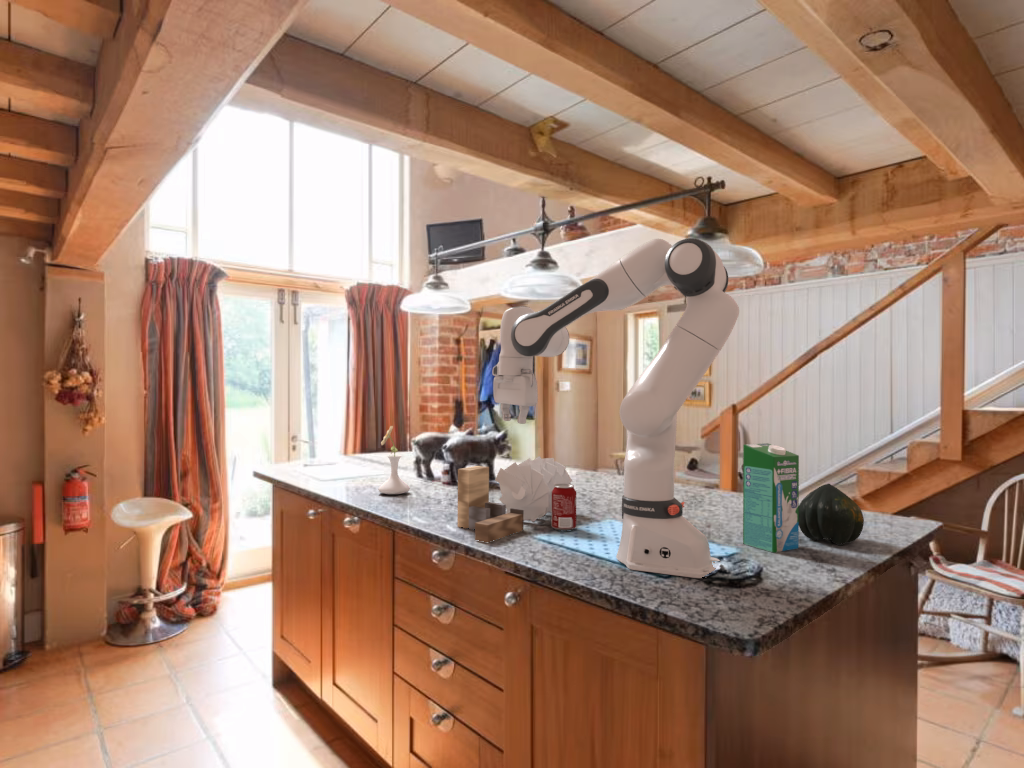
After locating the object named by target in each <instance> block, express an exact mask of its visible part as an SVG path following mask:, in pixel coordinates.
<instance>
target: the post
mask: <svg viewBox="0 0 1024 768" xmlns="http://www.w3.org/2000/svg"><path fill="white" fill-rule="evenodd" d="M489 497H490V466H484V465H483V466H482V465H476V466H474V465H473V466H469V467H463V468H458V469H457V524H456V525H457V528H461V527H463V528H462V529H466V528H469V530H472V529H475V523H477V522H480V521H483V520H487V519H490V518H493V517H497V516H500V515H504V514H506V511H507V508H506V504H502V503H501V502H500V503H499V502H492V501H490V498H489Z"/></svg>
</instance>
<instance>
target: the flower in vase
mask: <svg viewBox="0 0 1024 768" xmlns="http://www.w3.org/2000/svg"><path fill="white" fill-rule="evenodd" d="M393 428H394V426H393V425H390V426H389V429H387V431H386V434H385V435H384V436H383V440H381V442H380V444H381V446H384V445H385V444H386V442H387V441H388V439H390V440H391V443H392V446H391V448H390V450H391V452H390V455H387V458H388V459H389V462H390V466H391V467H390V468H391V469H390V470H391V471H390V476H389V477H388V478H387V479H386V480H385V481H384V482H383V483H382V484H381V485H379V486H378V488H377V489H378V492H379V493H381V494H384V495H393V496H394V495H402V494H405V493H406V494H407V493H408V492H409V491H411V487H410V486H409V484H408V483H406V482H405V481H404V480H403V479H402V478H401V477H400V476H399V473H398V466H399V461H400V459H401V458H402V454H400V455H399V454H396V453H397V452H398V451H399V450H398V448H396V446H395V443H394V440H393V438H392V437H391V433H392V431H393Z"/></svg>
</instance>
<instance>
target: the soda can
mask: <svg viewBox="0 0 1024 768" xmlns="http://www.w3.org/2000/svg"><path fill="white" fill-rule="evenodd" d="M551 528H553V529H554V530H556V531H558V530H560V531H559V532H568V531H567V530H571V531H573V530H574V529H576V528H577V491H576V489H575V485H574V484H555V485H554V489H553V490H552V513H551Z"/></svg>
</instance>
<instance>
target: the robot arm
mask: <svg viewBox="0 0 1024 768" xmlns="http://www.w3.org/2000/svg"><path fill="white" fill-rule="evenodd" d="M728 285H729V274H728V271H727V268H726V266H725V265H724V264H723V260H722V259H721V256H720V255H719V254H718V253H717V252H716V251H715V250H714V249H713V248H712V246H711V245H710V244H709V243H707V242H705V241H704V240H701V239H698V238H694V237H693V238H692V237H691V238H684V239H680V240H679V241H677V242H676V243H675V242H674V243H673V245H672V244H671V243H669V242H668V241H666V240H664V239H661V238H654V239H651V240H649V241H647V242H644V243H643V244H641V245H638V246H637V247H635V248H633V249H632V250H630V251H629V252H627V253H626V254H624V255H623V256H621V257H620V258H618V259H617V260H616V261H614V262H613V263H611V264H610V265H609V266H607V267H606V268H605V269H603V270H602V271H600V272H599V273H598V274H597V275H595V276H593V277H592V278H590V279H589V280H587V281H586V282H585V283H583V284H581V285H580V286H578V287H576V288H575V289H573V290H571V291H570V292H568V293H566V294H565V295H564V296H562V297H560V298H559V299H557V300H556V301H554V302H552V303H551V304H550V305H548V306H546V307H544V308H542V309H540V310H538V311H535V310H534V309H533V308H532V307H530V306H525V305H520V306H513V307H510V308H507V309H506V310H505V311H504V312H503V314H502V317H501V321H500V329H499V343H500V351H499V352H500V353H499V357H498V362H497V364H495V365H494V366H493V367H492V372H491V373H492V376H494V378H493V383H492V384H493V385H492V386H493V390H492V391H493V399H494V402H495V403H496V404H500V409H501V413H502V420H503V421H504V422H510V421H511V420H512V419H511V418H512V414H511V413H510V412H511V411H510V408H511V405H512V406H513V405H514V406H518V407H519V408H518V410H519V414H518V416H517V417H516V418H517V424H520V425H521V424H522V425H523V424H526V423H527V416H528V413H529V411H530V407H536V406H537V404H538V402H539V401H538V400H539V399H538V395H539V394H538V381H537V378H536V376H535V374H534V372H533V368H534V366H533V365H534V357H542V358H544V357H545V358H553V357H554V358H555V357H557V356H561V355H562V354H563V353H564V352H565V351H566V350H567V349H568V347H569V343H570V333H569V330H568V329H567V327H569V325H572V324H573V323H575V322H576V321H578V320H580V319H581V318H583V317H584V316H588V315H589V314H592V313H596V312H605V311H622V310H625V309H627V308H630V307H631V306H633V305H635V304H637V303H640V302H641V301H642V300H644V299H645V298H647V297H648V296H650V295H651V294H652V293H654V292H655V291H657V290H658V289H660V288H662V287H666V286H673V288H674V289H675V290H676V291H678V293H680V294H681V295H683V296H684V297H685V299H686V307H685V309H684V311H683V313H682V315H681V317H680V318H679V320H678V321H677V323H676V324H675V326H674V327H673V329H672V330H671V332H670V333H669V335H668V337H667V338H666V339H665V341H664V342H663V344H662V346H661V347H660V349H659V350H658V352H657V353H656V355H655V356H654V357H653V358H652V360H651V361H650V362H649V364H648V365H647V366H646V368H645V369H644V370H643V371H642V373H641V374H640V375H639V377H637V379H636V381H635V382H634V383H633V385H632V386H631V388H630V389H629V390H628V392H627V393H626V395H625V396H624V397H623V399H622V400H621V403H620V406H619V418H620V421H621V424H622V426H623V427H624V428H625V430H627V441H626V448H625V457H624V461H623V473H624V474H623V495H622V496H621V518H622V529H621V536H620V541H619V546H618V551H617V553H616V556H615V557H616V560H617V561H618V562H621V563H622V564H624V565H625V567H626V568H627V569H629V570H634V571H639V572H648V573H654V574H664V575H671V576H677V577H679V576H680V577H686V578H694V579H703V578H702V577H704V576H705V575H707V574H709V573H711V572H712V571H714V570H715V569H716V568H714V567H713V565H712V561H720V562H721V560H720V559H718V558H716V557H713V556H711V549H710V543H709V540H708V537H707V536H706V534H704V533H703V532H702V531H700V530H699V529H698V528H697V527H696V526H695V525H693V524H692V523H691V522H690V521H689V520H688V519H686V518H685V517H684V516H683V510H684V509H683V508H685V501H683V502H680V501H679V500H678V499H677V498H675V457H676V440H677V425H678V424H677V423H678V421H677V419H678V412H679V410H680V409H681V407H682V406H683V405H684V403H685V402H686V400H688V397H689V396H690V395H691V394H692V393H693V391H694V389H695V388H696V387H697V385H698V384H699V383H700V382H701V380H702V379H703V377H704V376H705V374H706V373H707V371H708V369H709V368H710V367H711V365H712V364H713V362H714V360H715V359H716V358H717V356H718V355H719V353H720V351H722V349H723V347H724V346H725V344H726V342H727V340H728V339H729V337H730V336H731V334H732V331H733V329H734V327H735V325H736V322H737V320H738V317H739V315H740V308H739V304H738V303H737V301H736V300H735V299H734V298H733V297H732V296H731V295H729V294H728V293H727V292H726V291H727V289H728ZM713 563H715V562H713Z"/></svg>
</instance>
